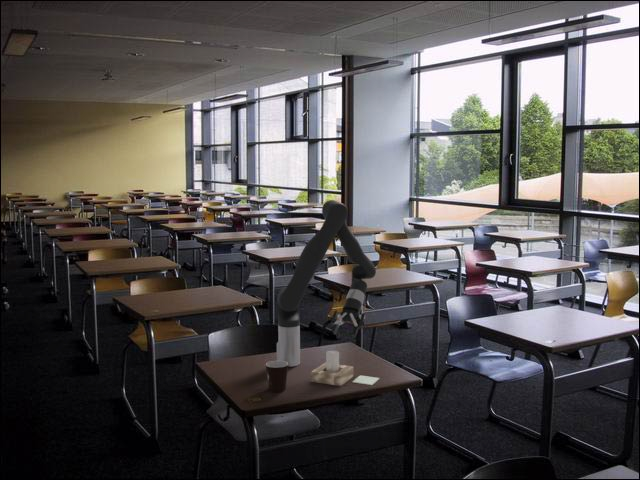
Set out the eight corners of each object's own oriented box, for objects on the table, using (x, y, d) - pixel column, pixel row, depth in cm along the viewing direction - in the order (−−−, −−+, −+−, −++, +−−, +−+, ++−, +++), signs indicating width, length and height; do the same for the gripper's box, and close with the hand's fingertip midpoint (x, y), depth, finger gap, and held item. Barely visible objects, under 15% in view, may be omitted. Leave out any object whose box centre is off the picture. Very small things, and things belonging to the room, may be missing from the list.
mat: (352, 382, 254) (352, 381, 254) (360, 375, 262) (360, 375, 262) (372, 385, 251) (372, 384, 251) (379, 378, 258) (379, 378, 258)
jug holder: (311, 381, 255) (311, 371, 255) (324, 371, 267) (324, 362, 266) (340, 386, 250) (340, 376, 250) (353, 376, 262) (353, 366, 261)
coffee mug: (285, 393, 242) (285, 368, 241) (263, 392, 244) (262, 366, 243) (292, 383, 254) (292, 358, 252) (271, 382, 255) (271, 357, 254)
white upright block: (321, 381, 255) (321, 354, 254) (329, 376, 262) (329, 349, 261) (333, 383, 253) (333, 356, 252) (341, 377, 260) (341, 351, 258)
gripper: (336, 295, 276) (325, 328, 267) (367, 298, 270) (357, 331, 261) (341, 305, 281) (330, 337, 272) (371, 308, 275) (361, 341, 266)
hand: (343, 334), depth 267 cm, fingers open, 8 cm apart
